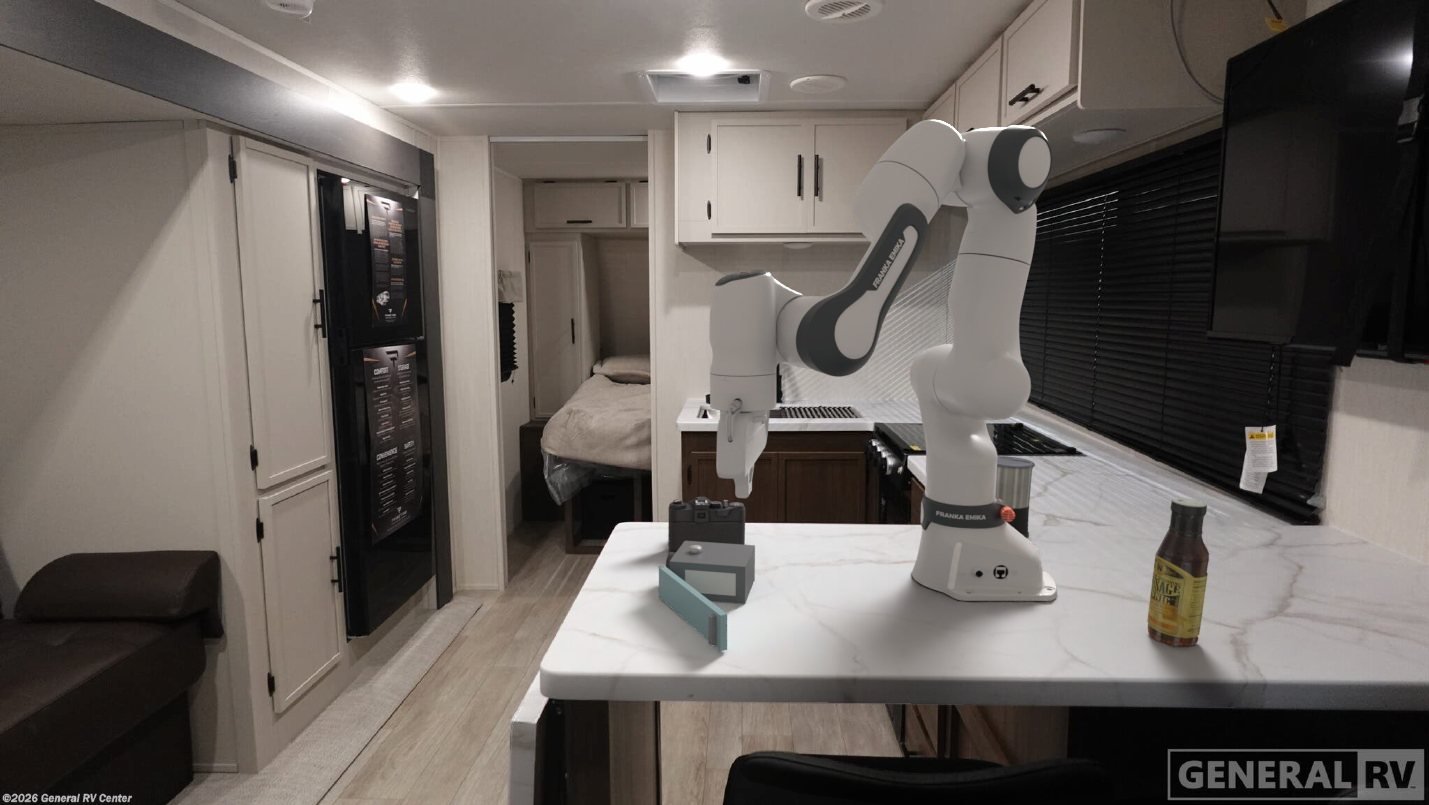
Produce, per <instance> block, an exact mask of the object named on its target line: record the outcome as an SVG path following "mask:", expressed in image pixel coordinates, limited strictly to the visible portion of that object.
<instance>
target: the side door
mask: <svg viewBox="0 0 1429 805" xmlns="http://www.w3.org/2000/svg"><path fill="white" fill-rule="evenodd" d="M658 599H660V600H661V601H662V602H663V603H665V604H666V605H667V606H668V607H669V608H671V609H672V610H673V611H674V612H675V613H676V614H677V615H679V616H680V617H681V618H682V619H683V620H685V622H686V623H687V624H688V625H690V626H691V627H692V628H693V629H694V630H696V631H697V632H698V633H699V634H700V635H702V637H704V639H706V640H707V641H708V644H709V646H714V647H715V648H716V649H717V650H718V651H719V652H723V651H727V650H728V613H727V612H726V611H724V610H723V609H721V608H720V607H719V606H718V605H716V604H715V603H714V602H713V601H710V600H708V599H707V598H706V597H704V596H703V595H702V594H700V593H699V592H698V591H697V590H695V589H694V588H693V587H691V586H690V585H689V584H688V583H686V582H685V581H684V580H682V579H681V578H680V577H678V576H677V575H676V574H675V573H673V572H672V571H671V570H669V569H668V568H667V567H666V565H661V564H660V565H659V566H658Z"/></svg>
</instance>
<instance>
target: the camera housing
mask: <svg viewBox="0 0 1429 805" xmlns="http://www.w3.org/2000/svg"><path fill="white" fill-rule="evenodd" d="M755 565H756V545H755V544H745V545H742V544H727V543H712V542H697V541H684V542H683V544H682V545H681V547H680V548H679V549H678V551H677V552H669V553H668V555H667V557H666V562H665V567H667V568H668V569H669V570H671V571H672V572H673V573H675V574H676V575H677V576H678V577H680V578H681V579H682V580H684V581H685V582H686V583H688V584H689V585H690V586H691V587H693V588H694V589H695V590H697V591H698V592H699V593H700V594H702V595H703V596H704V597H706V598H707V599H708V600H710V601H711V602H715V603H716V602H717V603H728V604H730V603H731V604H741V605H745V604H746V603H747V600H748V598H749V596H750V593H751V590H752V588H753V585H754V583H753V582H755V580H756V579H755V578H756V576H755V574H756V568H755V567H756V566H755Z"/></svg>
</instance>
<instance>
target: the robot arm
mask: <svg viewBox="0 0 1429 805" xmlns="http://www.w3.org/2000/svg"><path fill="white" fill-rule="evenodd" d="M1052 151H1053V150H1052V146H1051V145H1050V142H1049V141H1048V139H1047V137H1046V135H1045V133H1043V131H1041V130H1040V129H1038V128H1036V127H1032V126H1026V125H1020V124H1019V125H1015V124H1014V125H1009V126H1007V127H1005V126H1004V127H1003V126H1002V127H986V128H985V127H983V128H975V129H972V130H970V131H967V132H966V131H965V132H960V133H959V131H957V130H956V129H955V128H954V126H951V125H950V124H948V123H946V122H945V121H942V120H938V119H926V120H921V121H919V122H917V123H915V124H914V125H912V126H910V128H908V130H906V131H905V132H904V133H903V134H902V135H901V136H900V137H899V138H897V139H896V140H895V141H894V143H893V144H892V145H891V146H890V147H889V148H888V149H887V150H886V151H885V153H883V154H882V155H881V157H880V158H879V159H878V161H876V163H875V164H874V165H873V167H872V168H871V169H870V171H869V172H868V173H867V175H866V176H865V177H864V179H863V180H862V182H861V183H860V185H859V187H858V189H857V190H856V194H855V195H854V198H853V200H852V214H853V219H854V222H855V224H856V226H857V228H858V229H859V231H860V232H861V233H862V235H863V236H864V237H866V239H867V240H868V241H869V242H870V245H869V247H868V248H867V250H866V252H865V253H864V255H863V257H862V258H861V260H860V262H859V263H858V265H857V267H856V268H855V270H854V272H853V273H852V275H851V276H850V278H849V280H848V282H846V284H845V285H844V286H843V287H842V288H840V289H839V290H837V291H835V292H832V293H830V294H827V295H822V296H817V295H815V296H813V295H812V296H811V295H803V293H801V292H798V291H797V290H793V289H792V288H790V287H787V286H786V285H784V284H782V283H781V282H780V281H779V280H777V279H775V277H773V275H772V273H771V272H769V271H768V270H763V269H759V270H758V269H756V270H755V269H754V270H749V271H741V272H735V273H732V274H728V275H725V276H723V277H720V278H719V279H718V280H717V282H716V283H715V284H714V285H713V289H712V292H711V299H710V307H709V326H708V327H709V328H708V329H709V333H708V334H709V343H710V347H711V353H712V360H711V364H710V369H709V394H710V395H709V403H710V404H709V405H710V406H709V407H710V408H711V409H713V410H716V411H719V420H718V423H717V428H716V429H717V431H716V458H715V459H716V473H717V476H718V478H720V479H731V480H733V481H734V485H735V486H734V487H735V488H734V489H735V490H734V493H735V497H736V498H738V499H747V498H749V496H750V494H751V492H752V490H753V476H754V471H755V470H754V468H755V463H756V462H757V460H758V458H759V457H760V456H761V454H762V452H763V451H764V449H765V448H766V445H767V440H768V434H769V425H770V424H769V422H770V414H771V412H770V410H773V409H775V408H776V407H777V367H778V365H779V364H780V363H781V364H783V365H784V364H785V365H789V366H793V367H797V368H802V369H806V370H807V369H808V370H814V371H816V372H818V373H821V374H824V375H827V376H831V377H836V378H838V377H840V378H841V377H847V376H850V375H852V374H854V373H856V372H858V371H859V370H861V369H862V368H863V367H864V366H865V365H866V364H867V363H868V361H869V360H870V359H871V357H872V355H873V354H874V353H875V352H874V351H875V350H876V346H877V344H878V340H879V336H880V334H881V331H882V327H883V324H884V321H885V318H886V317H887V314H888V313H889V311H890V309H891V307H892V306H893V303H894V302H895V300H896V298H897V296H898V294H899V292H900V291H901V289H902V287H903V286H904V283H905V282H906V280H907V279H908V277H909V275H910V273H911V272H912V270H913V268H914V266H915V264H916V263H917V260H918V258H919V257H920V255H921V254H922V251H923V248H924V246H925V245H926V241H927V238H928V234H929V224H930V222H931V220H932V219H933V218H934V216H935V214H936V213H937V212H938V210H939V209H940V208H941V207H948V206H951V207H959V208H960V207H961V208H962V207H963V208H965V207H966V212H967V224H966V226H965V229H964V232H963V235H962V239H961V242H960V246H959V249H958V252H957V256H956V263H955V266H954V271H953V275H952V279H951V283H950V289H949V293H948V297H947V307H948V310H949V312H950V314H951V318H952V327H953V330H952V333H953V335H952V336H953V340H952V343H944V344H940V345H935V346H932V347H928V348H926V349H924V350H922V351H921V352H920V353H919V354H918V355H917V356H915V358H914V360H913V361H912V363H911V366H910V369H909V381H910V385H911V387H912V389H913V391H914V392H915V395H916V398H917V401H918V404H919V412H920V417H921V421H922V427H923V428H922V429H923V435H924V438H925V439H924V441H925V453H926V454H925V458H926V459H925V462H926V463H925V485H924V486H925V487H924V489H925V490H924V491H925V492H923V494H922V497H921V498H922V500H921V502H920V526H921V536H920V542H919V546H918V547H919V548H918V551H917V557H916V560H915V563H914V565H913V568H912V571H911V576H912V578H913V579H914V580H915V581H916V582H918V583H919V584H920V585H922V586H925V587H927V588H929V589H932V590H935V591H937V592H941V593H944V594H946V595H948V596H949V597H951V598H953V599H955V600H958V601H965V602H966V601H967V602H968V601H971V602H973V601H975V602H976V601H978V602H980V601H983V602H985V601H986V602H987V601H989V602H995V601H997V602H999V601H1001V602H1006V601H1007V602H1009V601H1010V602H1013V601H1016V602H1024V601H1025V602H1035V601H1036V602H1042V601H1043V602H1049V601H1050V602H1051V601H1053V600H1054V599H1056V598H1057V595H1058V588H1057V584H1056V582H1055V580H1054V578H1053V577H1052V575H1050V574H1049V573H1048V572H1046V570H1044V569H1043V565H1042V560H1041V556H1040V553H1039V550H1038V549H1037V547H1036V546H1035V545H1034V543H1033V542H1032V541H1030V540H1029V539H1028V538H1027V537H1024V536H1023V535H1022V534H1021V533H1019V532H1018V531H1017V530H1016V529H1015V528H1013V527H1012V526H1011V525H1010V524H1008V523H1007V522H1010V521H1013V520H1012V519H1015V515H1014V514H1015V513H1014V512H1013V510H1012V509H1011V508H1010V507H1008V506H1007V504H1005V503H1004V502H1002V501H1001V500H1000V499H997V498H995V495H996V478H997V459H998V456H999V455H998V451H997V448H996V446H995V444H994V443H993V441H992V439H991V437H990V434H989V430H988V428H987V422H986V421H998V420H999V421H1000V420H1006V419H1009V418H1012V417H1014V416H1015V415H1017V414H1018V413H1019V412H1020V411H1022V410H1023V408H1024V407H1025V406H1026V404H1027V402H1028V400H1029V398H1030V395H1031V391H1032V390H1031V389H1032V384H1031V377H1030V374H1029V372H1028V370H1027V368H1026V366H1025V365H1024V362H1023V359H1022V354H1021V346H1020V345H1021V344H1020V318H1021V316H1020V314H1021V310H1022V309H1021V308H1022V304H1023V300H1024V295H1025V290H1026V285H1027V283H1028V281H1027V280H1028V277H1029V274H1030V273H1029V272H1030V270H1031V269H1030V268H1031V264H1032V259H1033V256H1034V255H1033V254H1034V249H1035V242H1036V234H1037V233H1036V232H1037V224H1038V222H1037V216H1038V215H1037V212H1038V209H1037V206H1036V202H1037V200H1038V198H1039V197H1040V195H1041V193H1042V192H1043V191H1044V189H1045V187H1046V186H1047V183H1048V181H1049V177H1051V176H1050V175H1051V173H1052V168H1053V152H1052ZM1006 521H1007V522H1006Z"/></svg>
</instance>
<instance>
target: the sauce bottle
mask: <svg viewBox="0 0 1429 805" xmlns="http://www.w3.org/2000/svg"><path fill="white" fill-rule="evenodd" d="M1207 510H1208V505H1207V504H1206V502H1204V501H1201V500H1198V499H1194V498H1188V497H1176V498H1175V497H1174V498H1173V499H1172V500H1171V504H1170V512H1171V514H1170V521H1169V523H1170V524H1169V526H1168V530H1167V532H1166V534H1165V536H1164V537H1163V540H1161V541H1162V542H1161V543H1160V545H1159V547H1158V549H1157V551H1156V553H1155V555H1154V557H1155V558H1154V565H1153V572H1152V580H1151V587H1150V588H1151V589H1150V594H1149V595H1150V596H1149V605H1148V613H1147V620H1146V622H1147V633H1148V634H1149V636H1150V637H1151V638H1152V639H1154V640H1156V641H1158V642H1160V643H1163V644H1164V645H1166V646H1167V645H1168V646H1170V647H1180V648H1181V647H1182V648H1183V647H1184V648H1187V647H1193V646H1195V645H1196V644H1197V643H1198V641H1199V636H1200V632H1201V624H1202V618H1203V611H1204V603H1205V595H1206V588H1207V581H1208V574H1209V573H1208V567H1209V561H1210V553H1209V550H1208V549H1209V548H1207V546H1206V544H1205V542H1204V539H1203V533H1204V532H1203V525H1204V519H1205V518H1204V517H1205V516H1206V514H1207Z"/></svg>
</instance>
